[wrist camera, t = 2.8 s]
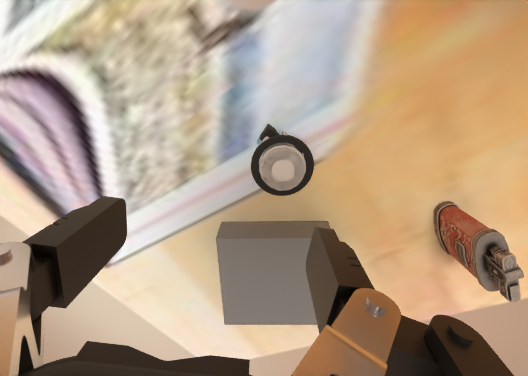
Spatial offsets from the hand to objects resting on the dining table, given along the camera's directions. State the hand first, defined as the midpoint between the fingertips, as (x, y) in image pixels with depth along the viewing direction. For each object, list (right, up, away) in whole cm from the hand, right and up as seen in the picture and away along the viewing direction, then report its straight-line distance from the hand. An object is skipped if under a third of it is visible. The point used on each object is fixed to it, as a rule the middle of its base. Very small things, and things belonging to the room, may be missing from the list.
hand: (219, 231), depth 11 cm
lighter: (+26, -3, +23) cm, 35 cm away
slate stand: (+3, -9, +26) cm, 28 cm away
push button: (+4, +7, +20) cm, 21 cm away
